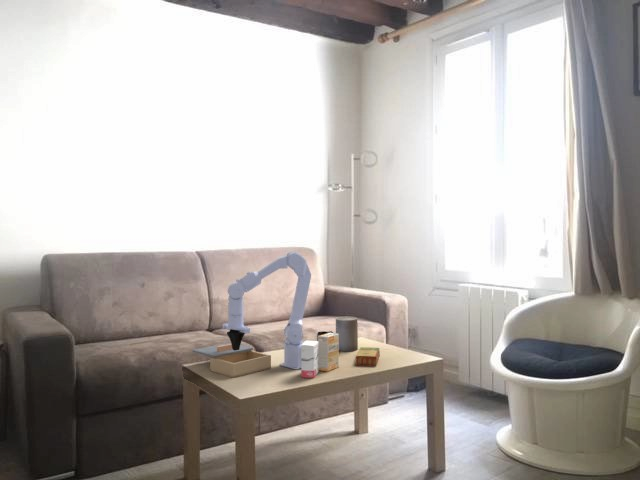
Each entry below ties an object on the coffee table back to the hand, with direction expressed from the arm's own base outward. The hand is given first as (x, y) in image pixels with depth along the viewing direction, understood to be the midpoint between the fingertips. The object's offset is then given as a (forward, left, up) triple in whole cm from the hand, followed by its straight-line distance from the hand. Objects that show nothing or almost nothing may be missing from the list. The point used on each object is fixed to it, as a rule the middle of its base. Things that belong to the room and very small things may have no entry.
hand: (236, 349), depth 213 cm
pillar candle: (-9, -54, -7) cm, 55 cm away
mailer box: (-3, 0, -7) cm, 8 cm away
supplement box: (-26, -24, -7) cm, 36 cm away
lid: (+8, 0, -2) cm, 8 cm away
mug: (-16, -33, -7) cm, 37 cm away
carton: (-29, -44, -8) cm, 53 cm away
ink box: (-27, -13, -7) cm, 31 cm away
